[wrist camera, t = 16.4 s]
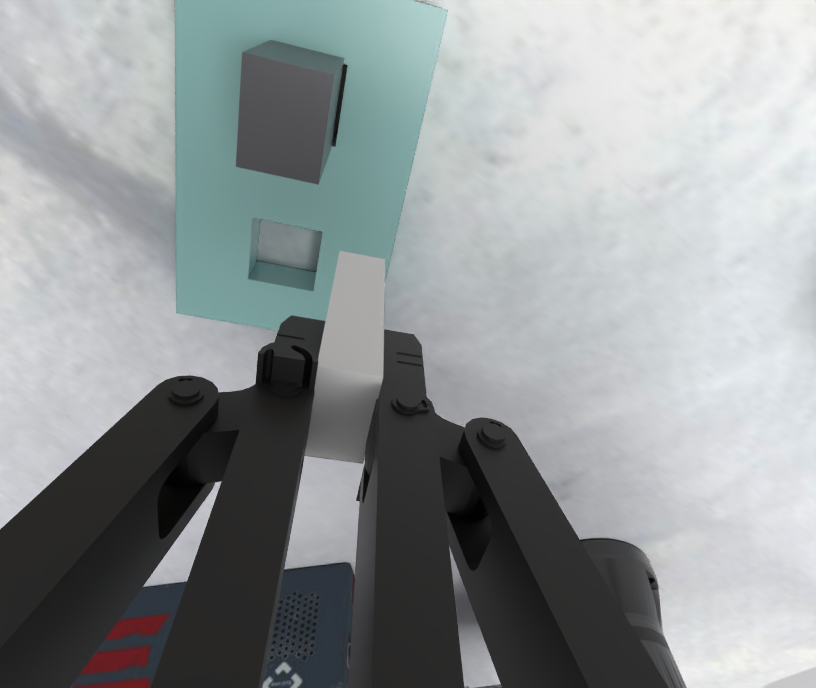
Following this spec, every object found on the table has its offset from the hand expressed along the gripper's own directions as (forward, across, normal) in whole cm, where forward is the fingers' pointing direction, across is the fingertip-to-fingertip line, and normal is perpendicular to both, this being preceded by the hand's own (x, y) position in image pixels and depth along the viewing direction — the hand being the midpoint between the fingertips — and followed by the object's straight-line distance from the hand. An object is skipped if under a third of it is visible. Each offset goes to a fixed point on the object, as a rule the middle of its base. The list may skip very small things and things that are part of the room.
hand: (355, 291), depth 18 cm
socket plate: (+21, +4, +2) cm, 21 cm away
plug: (+20, +4, -3) cm, 21 cm away
